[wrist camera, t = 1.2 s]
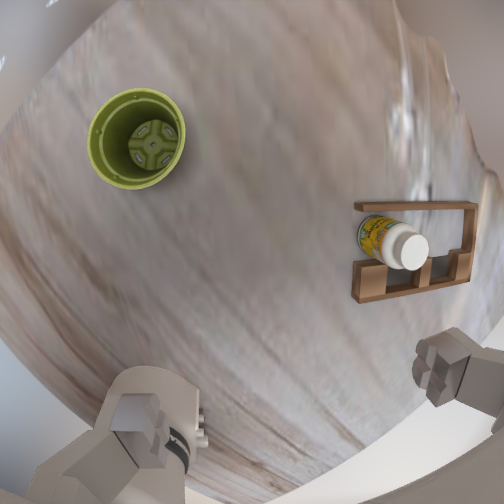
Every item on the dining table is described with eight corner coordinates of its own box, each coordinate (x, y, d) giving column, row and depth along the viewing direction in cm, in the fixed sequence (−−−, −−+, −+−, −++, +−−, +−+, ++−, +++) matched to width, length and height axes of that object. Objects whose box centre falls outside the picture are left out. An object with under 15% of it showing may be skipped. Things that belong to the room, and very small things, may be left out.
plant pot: (149, 201, 33) (129, 211, 25) (101, 146, 31) (69, 140, 22) (210, 147, 32) (207, 139, 24) (159, 91, 30) (142, 68, 22)
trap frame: (460, 276, 41) (469, 281, 39) (351, 296, 39) (359, 303, 37) (467, 201, 38) (478, 203, 36) (354, 202, 36) (363, 205, 34)
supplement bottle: (369, 261, 38) (408, 286, 29) (348, 233, 37) (387, 252, 28) (396, 235, 38) (439, 253, 29) (377, 206, 36) (420, 217, 27)
